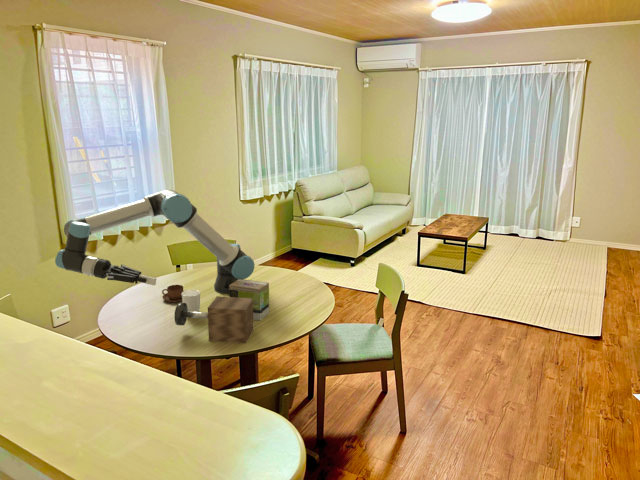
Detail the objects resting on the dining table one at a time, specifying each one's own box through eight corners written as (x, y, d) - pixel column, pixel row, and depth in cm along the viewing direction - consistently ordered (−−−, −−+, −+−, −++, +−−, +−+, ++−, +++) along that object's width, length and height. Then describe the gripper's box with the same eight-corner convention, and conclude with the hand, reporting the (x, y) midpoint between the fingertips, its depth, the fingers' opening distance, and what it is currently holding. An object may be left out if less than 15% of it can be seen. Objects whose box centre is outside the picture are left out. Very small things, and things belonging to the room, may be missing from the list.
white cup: (196, 318, 207) (195, 297, 205) (179, 316, 209) (178, 295, 206) (204, 311, 215) (203, 290, 212) (187, 309, 216) (186, 288, 214)
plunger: (175, 328, 189) (173, 307, 187) (183, 319, 198) (182, 299, 195) (214, 331, 188) (214, 310, 185) (221, 321, 196) (220, 301, 194)
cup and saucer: (164, 305, 220) (163, 293, 219) (161, 296, 231) (160, 284, 229) (190, 302, 225) (190, 290, 224) (186, 293, 236) (186, 281, 234)
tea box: (269, 313, 215) (269, 282, 211) (259, 321, 206) (259, 289, 202) (240, 308, 220) (239, 277, 216) (229, 316, 210) (228, 284, 207)
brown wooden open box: (208, 340, 187) (207, 307, 184) (217, 327, 199) (216, 296, 195) (246, 343, 186) (245, 310, 182) (253, 330, 198) (252, 298, 194)
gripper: (103, 271, 197) (159, 284, 198) (87, 281, 184) (147, 296, 185) (106, 254, 195) (162, 268, 196) (90, 263, 182) (150, 278, 183)
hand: (155, 281), depth 190 cm, fingers closed
